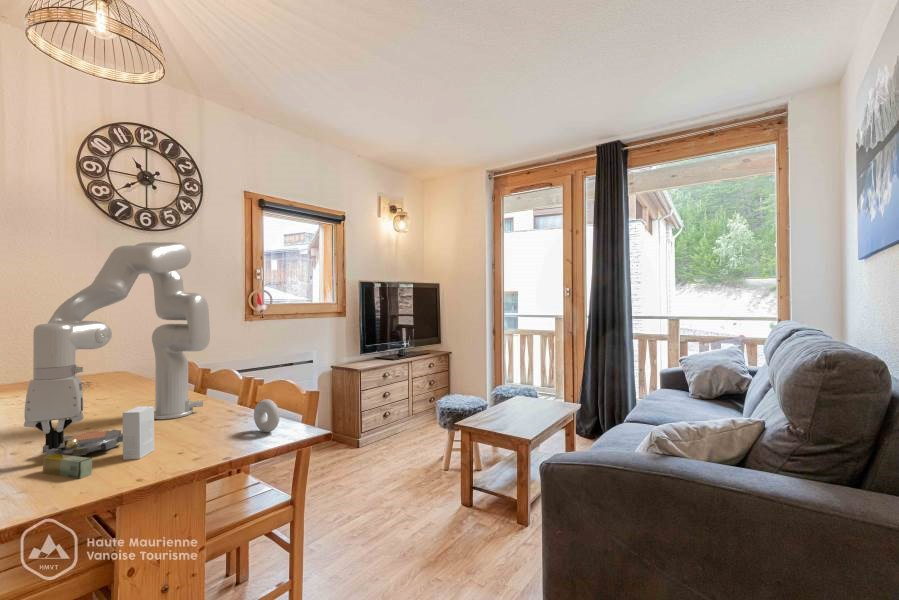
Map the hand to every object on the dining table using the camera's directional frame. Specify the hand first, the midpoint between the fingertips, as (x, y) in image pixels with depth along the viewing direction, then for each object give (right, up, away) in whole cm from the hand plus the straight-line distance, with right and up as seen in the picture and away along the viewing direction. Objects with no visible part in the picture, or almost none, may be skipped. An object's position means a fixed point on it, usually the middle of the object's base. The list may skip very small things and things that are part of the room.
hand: (54, 447), depth 102 cm
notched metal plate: (+1, -2, +8) cm, 8 cm away
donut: (+42, -4, +24) cm, 48 cm away
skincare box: (+17, -4, +5) cm, 18 cm away
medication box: (+9, -4, -7) cm, 12 cm away
